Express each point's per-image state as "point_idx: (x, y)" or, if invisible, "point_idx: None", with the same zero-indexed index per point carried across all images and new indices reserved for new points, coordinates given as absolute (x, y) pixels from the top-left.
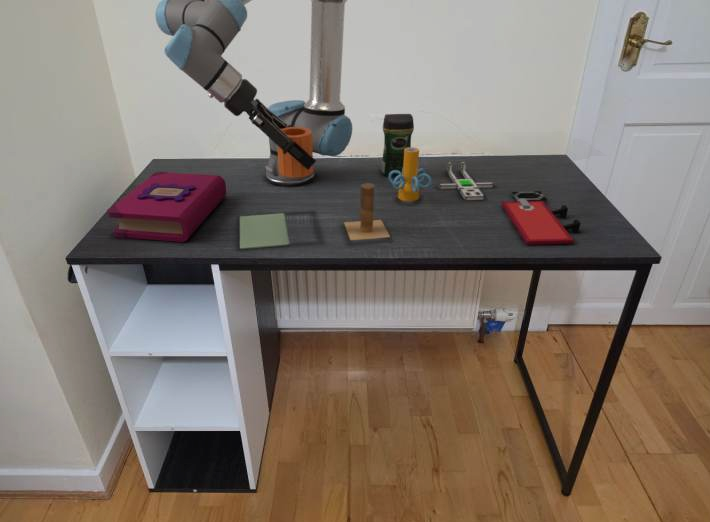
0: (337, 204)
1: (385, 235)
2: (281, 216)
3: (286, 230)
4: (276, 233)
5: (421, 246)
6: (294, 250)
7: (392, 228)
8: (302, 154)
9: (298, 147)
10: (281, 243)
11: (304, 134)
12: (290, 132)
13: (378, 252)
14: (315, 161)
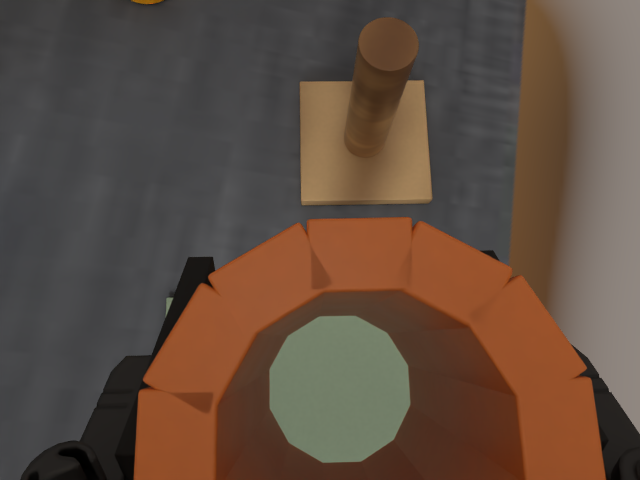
0: (121, 201)
1: (412, 91)
2: None
3: (310, 410)
4: (329, 450)
5: (460, 14)
6: None
7: (338, 64)
8: (582, 356)
9: None
10: None
11: (499, 313)
12: (226, 474)
13: (484, 133)
14: (493, 254)
